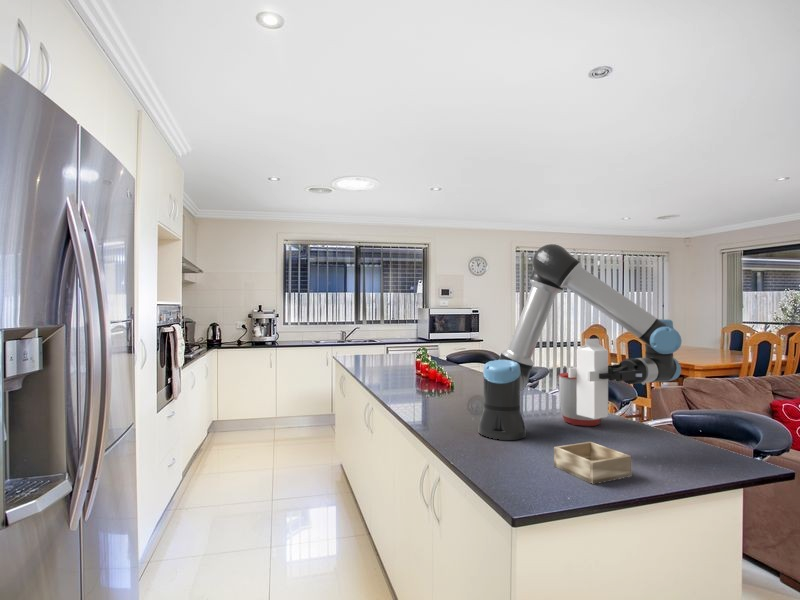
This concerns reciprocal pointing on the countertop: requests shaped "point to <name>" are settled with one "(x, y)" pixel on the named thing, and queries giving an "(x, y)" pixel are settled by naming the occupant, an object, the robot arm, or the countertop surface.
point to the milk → (592, 392)
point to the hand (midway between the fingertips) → (579, 374)
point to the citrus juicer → (572, 402)
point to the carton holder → (592, 462)
